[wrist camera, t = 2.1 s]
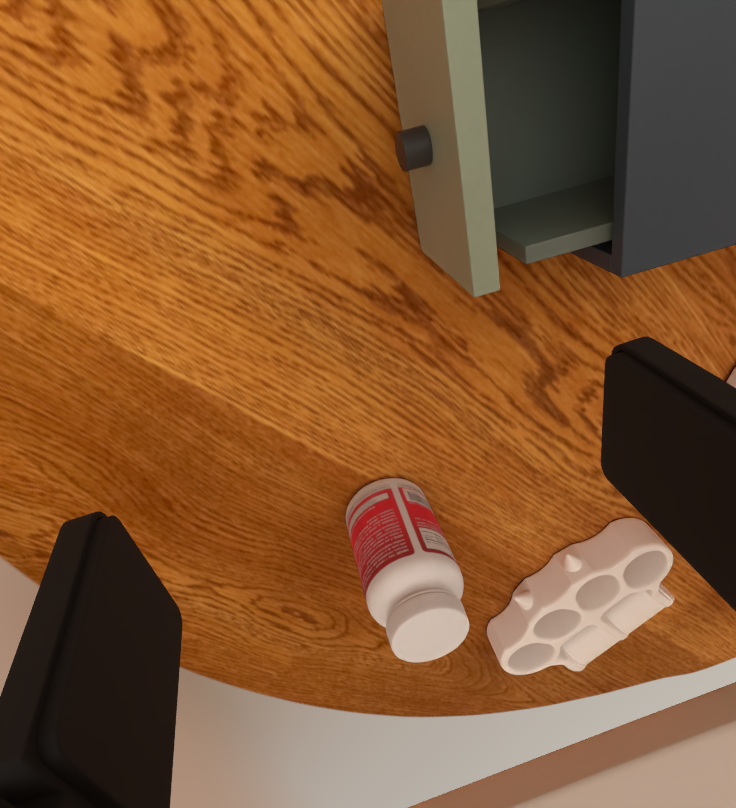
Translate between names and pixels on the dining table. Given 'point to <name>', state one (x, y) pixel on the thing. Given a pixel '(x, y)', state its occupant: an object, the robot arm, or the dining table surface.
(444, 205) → the drawer
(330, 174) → the dining table surface
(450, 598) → the pill bottle
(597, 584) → the white brass knuckles
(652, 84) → the cabinet
